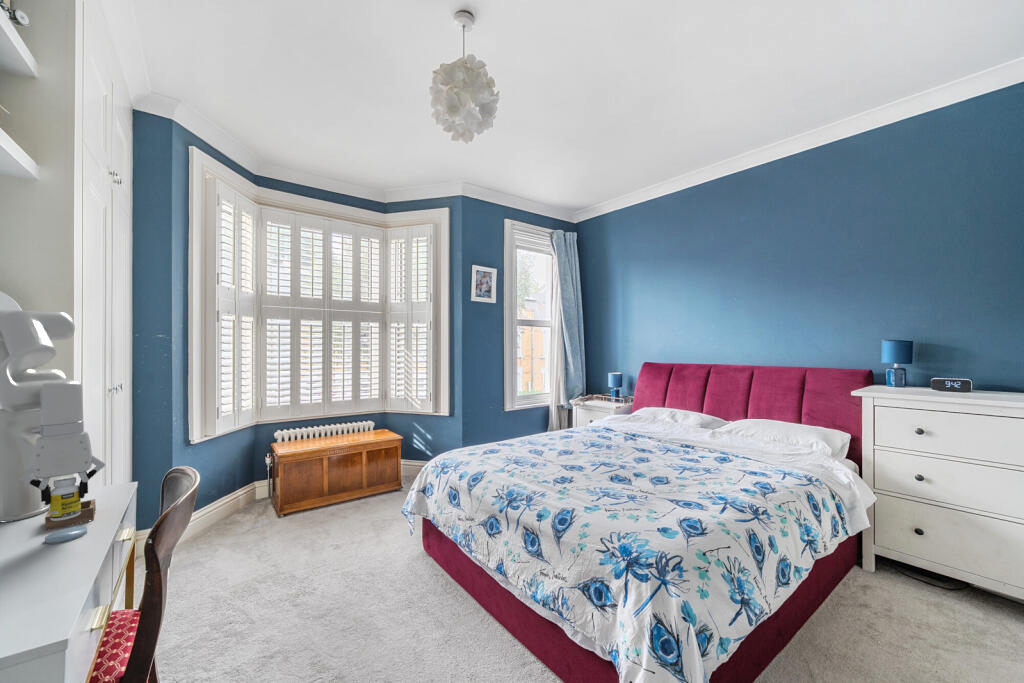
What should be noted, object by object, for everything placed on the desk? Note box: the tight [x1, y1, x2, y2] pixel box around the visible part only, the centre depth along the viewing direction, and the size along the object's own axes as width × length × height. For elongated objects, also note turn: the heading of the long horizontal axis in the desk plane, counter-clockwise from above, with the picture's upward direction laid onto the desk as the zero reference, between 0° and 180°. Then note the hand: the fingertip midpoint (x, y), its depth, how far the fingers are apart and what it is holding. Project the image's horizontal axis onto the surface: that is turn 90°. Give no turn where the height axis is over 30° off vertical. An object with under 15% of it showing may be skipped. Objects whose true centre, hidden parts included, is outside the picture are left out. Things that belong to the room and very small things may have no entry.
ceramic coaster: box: [44, 525, 88, 545], centre depth 109 cm, size 8×8×1 cm
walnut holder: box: [44, 498, 97, 532], centre depth 119 cm, size 9×9×4 cm
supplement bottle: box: [50, 476, 82, 521], centre depth 109 cm, size 5×5×10 cm
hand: (65, 499), depth 109 cm, fingers closed on supplement bottle, 5 cm apart
